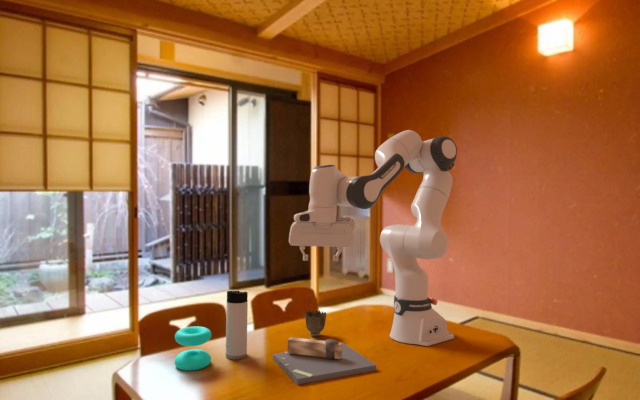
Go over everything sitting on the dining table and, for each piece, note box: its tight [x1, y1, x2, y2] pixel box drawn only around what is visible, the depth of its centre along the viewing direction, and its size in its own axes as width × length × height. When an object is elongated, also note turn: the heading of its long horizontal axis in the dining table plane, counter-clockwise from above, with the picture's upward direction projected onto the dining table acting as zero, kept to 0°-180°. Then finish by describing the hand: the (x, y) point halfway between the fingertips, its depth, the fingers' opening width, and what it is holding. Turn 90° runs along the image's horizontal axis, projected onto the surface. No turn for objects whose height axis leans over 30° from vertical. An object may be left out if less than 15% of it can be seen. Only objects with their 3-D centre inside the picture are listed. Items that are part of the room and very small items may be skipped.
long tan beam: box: [287, 336, 343, 359], centre depth 131 cm, size 16×4×4 cm, turn 75°
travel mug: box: [225, 290, 249, 360], centre depth 134 cm, size 6×7×20 cm
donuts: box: [174, 325, 212, 371], centre depth 126 cm, size 10×10×10 cm
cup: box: [304, 310, 327, 338], centre depth 154 cm, size 8×7×8 cm
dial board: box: [272, 343, 377, 386], centre depth 128 cm, size 24×19×2 cm
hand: (320, 260), depth 138 cm, fingers open, 8 cm apart
